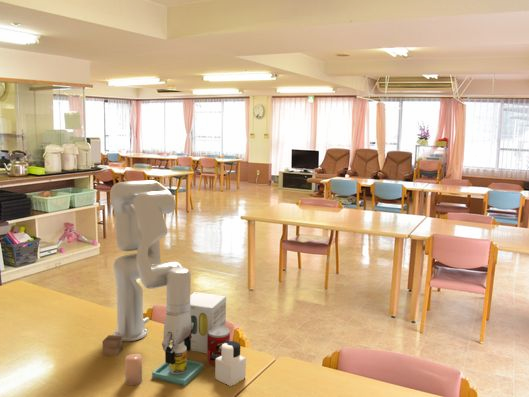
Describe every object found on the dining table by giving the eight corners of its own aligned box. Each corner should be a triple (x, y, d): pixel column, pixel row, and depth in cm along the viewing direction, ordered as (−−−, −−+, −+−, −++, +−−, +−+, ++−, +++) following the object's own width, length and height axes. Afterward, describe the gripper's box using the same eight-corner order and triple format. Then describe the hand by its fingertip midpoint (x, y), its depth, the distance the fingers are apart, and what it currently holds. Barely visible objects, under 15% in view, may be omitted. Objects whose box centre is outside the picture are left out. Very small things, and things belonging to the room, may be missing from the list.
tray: (172, 361, 163) (172, 356, 162) (203, 368, 158) (203, 363, 158) (152, 377, 151) (152, 372, 151) (184, 386, 147) (184, 380, 147)
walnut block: (109, 348, 171) (108, 335, 170) (122, 349, 170) (122, 336, 170) (102, 354, 166) (102, 341, 165) (116, 355, 165) (116, 342, 165)
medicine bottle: (229, 370, 157) (230, 336, 156) (245, 378, 153) (246, 343, 151) (214, 379, 152) (215, 344, 150) (230, 387, 147) (231, 351, 146)
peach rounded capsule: (132, 375, 152) (132, 352, 151) (145, 379, 151) (145, 355, 149) (122, 383, 148) (122, 359, 147) (135, 386, 146) (135, 362, 145)
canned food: (209, 367, 159) (209, 336, 157) (205, 356, 167) (205, 326, 165) (231, 365, 161) (232, 334, 160) (226, 354, 169) (227, 325, 167)
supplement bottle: (173, 376, 151) (172, 346, 150) (167, 369, 156) (166, 340, 154) (189, 372, 154) (189, 342, 153) (182, 365, 159) (182, 336, 157)
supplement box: (178, 348, 172) (178, 302, 169) (194, 334, 184) (194, 291, 182) (212, 354, 168) (213, 308, 165) (226, 339, 180) (226, 295, 178)
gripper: (182, 296, 161) (182, 343, 163) (152, 314, 145) (153, 366, 147) (202, 299, 158) (201, 347, 161) (173, 318, 142) (173, 371, 145)
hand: (178, 356), depth 154 cm, fingers open, 9 cm apart
